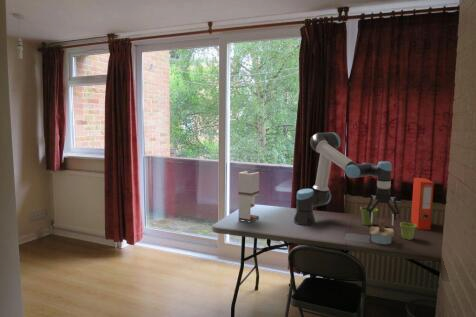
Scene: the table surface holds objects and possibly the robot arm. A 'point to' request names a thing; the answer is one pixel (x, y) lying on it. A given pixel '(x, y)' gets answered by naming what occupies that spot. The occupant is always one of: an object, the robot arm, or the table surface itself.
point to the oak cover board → (387, 231)
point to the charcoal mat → (357, 237)
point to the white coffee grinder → (247, 194)
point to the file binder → (422, 203)
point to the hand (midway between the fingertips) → (381, 223)
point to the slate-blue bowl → (381, 239)
